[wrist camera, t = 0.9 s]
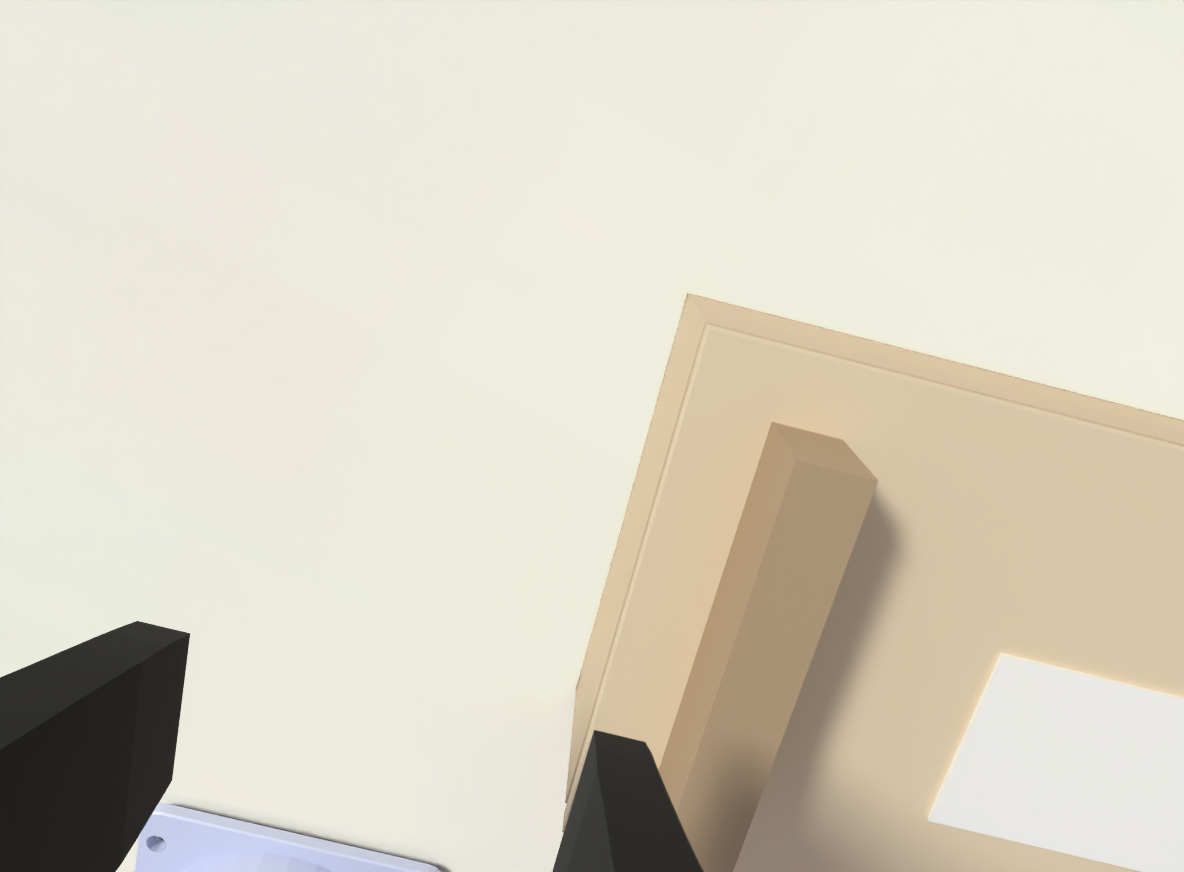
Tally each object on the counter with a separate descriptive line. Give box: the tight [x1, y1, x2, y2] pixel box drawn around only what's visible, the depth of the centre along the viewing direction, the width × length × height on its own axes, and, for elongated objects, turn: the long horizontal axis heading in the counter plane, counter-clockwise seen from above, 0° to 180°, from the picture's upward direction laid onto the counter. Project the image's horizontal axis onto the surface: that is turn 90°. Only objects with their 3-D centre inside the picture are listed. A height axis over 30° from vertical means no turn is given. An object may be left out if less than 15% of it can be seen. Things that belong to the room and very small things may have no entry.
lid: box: [562, 324, 1184, 872], centre depth 14 cm, size 14×10×2 cm
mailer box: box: [565, 293, 1184, 803], centre depth 18 cm, size 14×10×4 cm
